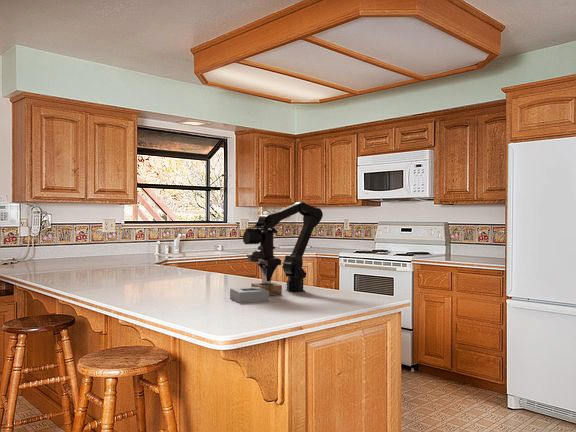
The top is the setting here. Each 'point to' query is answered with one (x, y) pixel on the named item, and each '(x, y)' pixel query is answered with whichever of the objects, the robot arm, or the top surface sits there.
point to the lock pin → (264, 279)
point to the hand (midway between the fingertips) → (266, 280)
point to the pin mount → (270, 288)
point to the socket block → (249, 294)
